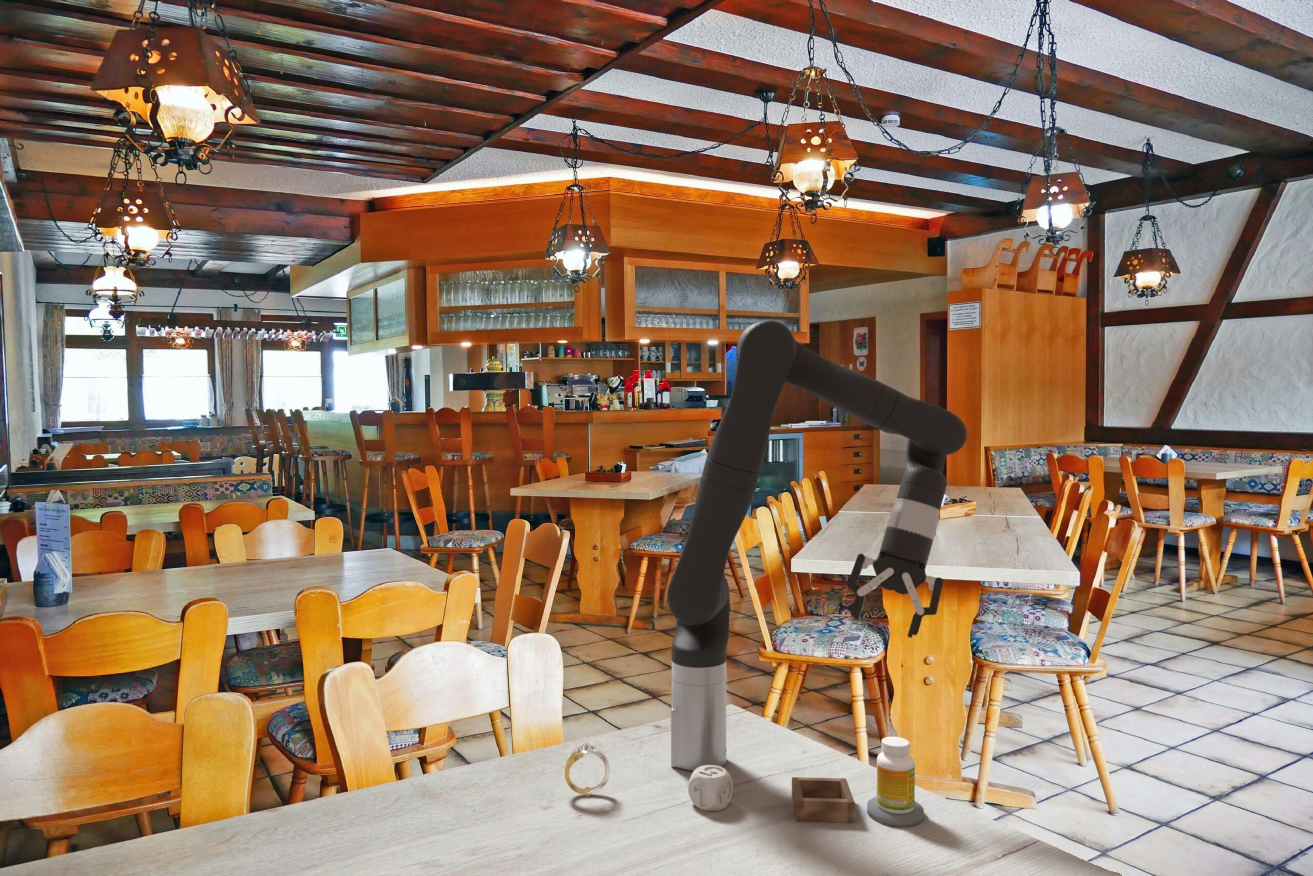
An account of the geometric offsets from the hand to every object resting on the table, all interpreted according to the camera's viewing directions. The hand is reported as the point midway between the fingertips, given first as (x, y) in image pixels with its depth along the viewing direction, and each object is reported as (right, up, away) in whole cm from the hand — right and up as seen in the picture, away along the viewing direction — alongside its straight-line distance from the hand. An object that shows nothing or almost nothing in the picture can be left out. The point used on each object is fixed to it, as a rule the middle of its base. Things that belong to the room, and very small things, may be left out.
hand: (882, 628), depth 141 cm
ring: (-47, -25, -5) cm, 53 cm away
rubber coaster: (-1, -25, -12) cm, 27 cm away
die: (-28, -25, -8) cm, 38 cm away
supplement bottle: (-1, -24, -12) cm, 27 cm away
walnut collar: (-12, -25, -10) cm, 29 cm away
